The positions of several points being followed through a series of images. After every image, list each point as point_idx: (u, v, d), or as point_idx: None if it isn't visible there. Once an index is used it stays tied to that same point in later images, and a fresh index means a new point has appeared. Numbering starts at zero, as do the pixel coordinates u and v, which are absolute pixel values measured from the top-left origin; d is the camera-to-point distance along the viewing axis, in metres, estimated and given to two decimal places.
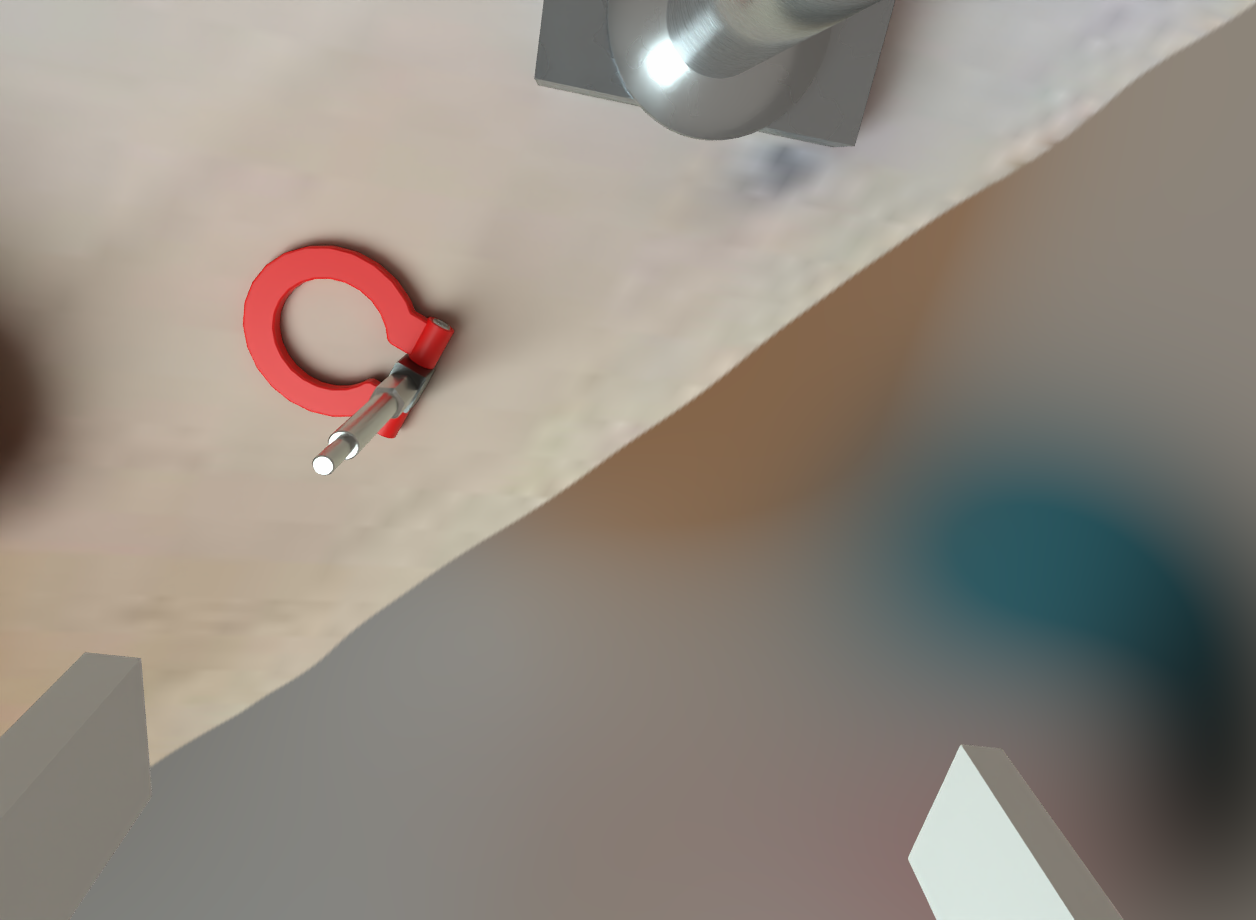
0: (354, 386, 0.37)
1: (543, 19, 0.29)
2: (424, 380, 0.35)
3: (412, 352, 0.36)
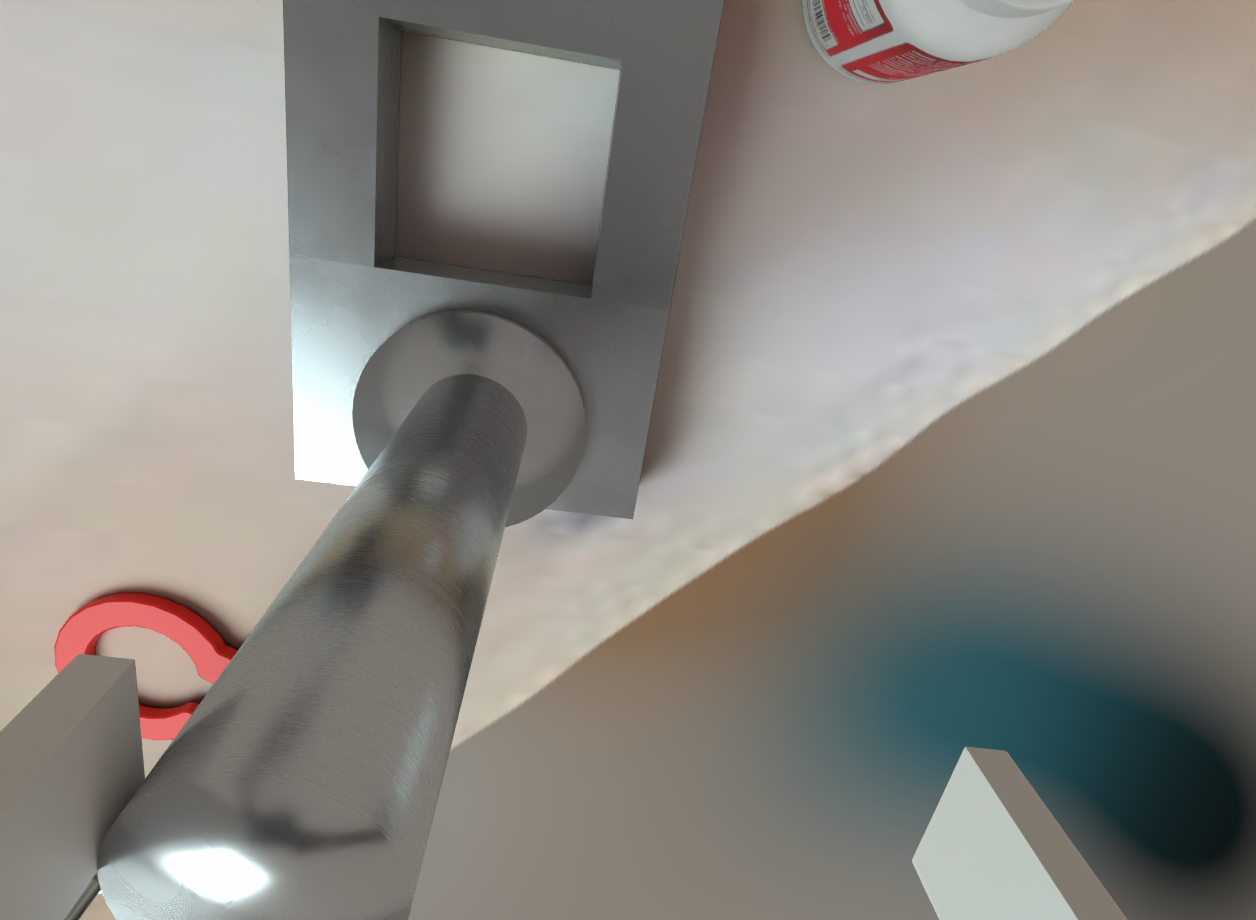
0: (172, 714, 0.37)
1: (295, 430, 0.29)
2: None
3: None
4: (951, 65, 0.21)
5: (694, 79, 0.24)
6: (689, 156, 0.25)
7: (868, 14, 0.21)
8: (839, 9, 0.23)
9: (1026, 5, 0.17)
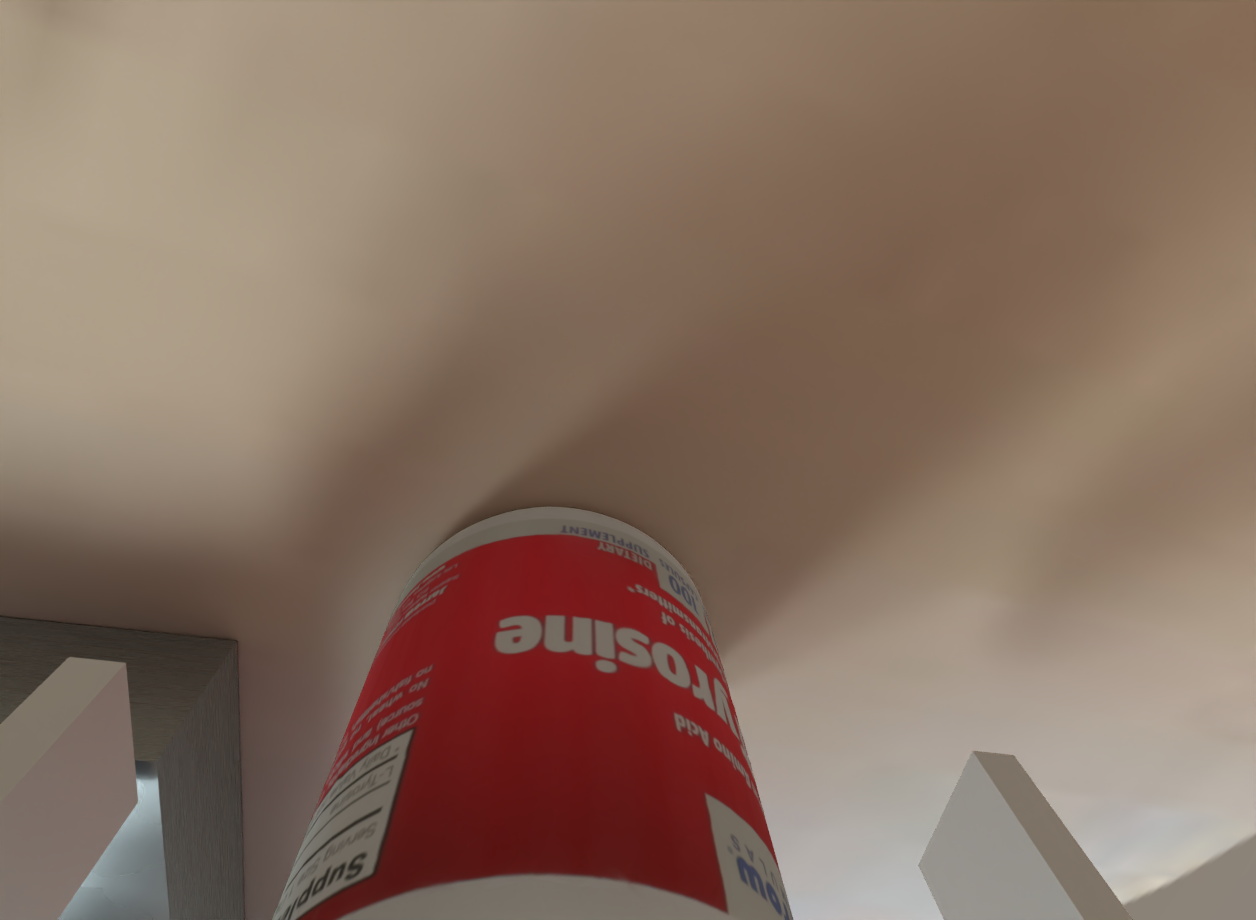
0: None
1: None
2: None
3: None
4: None
5: (135, 896, 0.12)
6: None
7: None
8: None
9: None
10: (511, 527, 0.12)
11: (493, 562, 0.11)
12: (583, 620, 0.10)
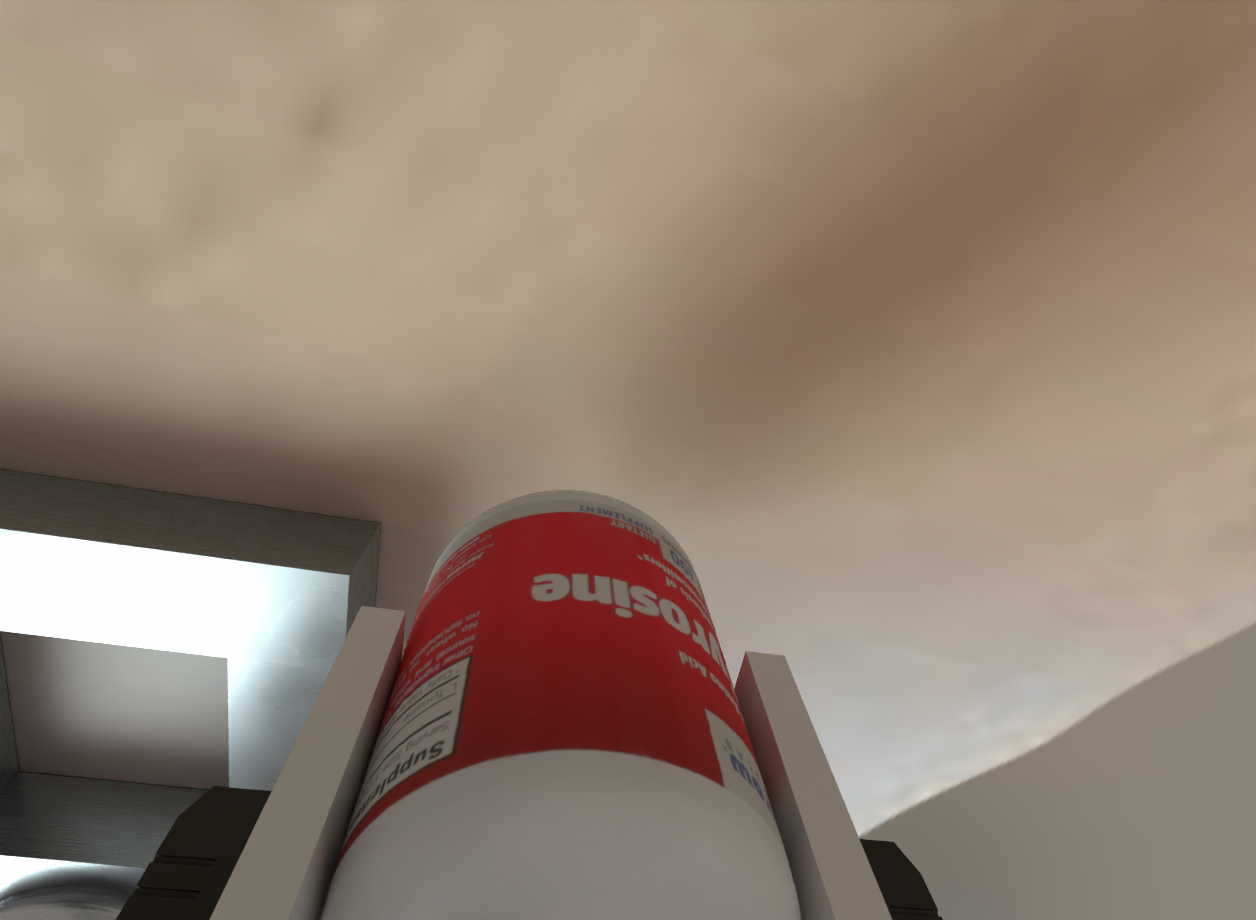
0: None
1: None
2: None
3: None
4: None
5: (323, 674, 0.19)
6: None
7: None
8: None
9: None
10: (536, 506, 0.14)
11: (523, 533, 0.13)
12: (603, 578, 0.12)
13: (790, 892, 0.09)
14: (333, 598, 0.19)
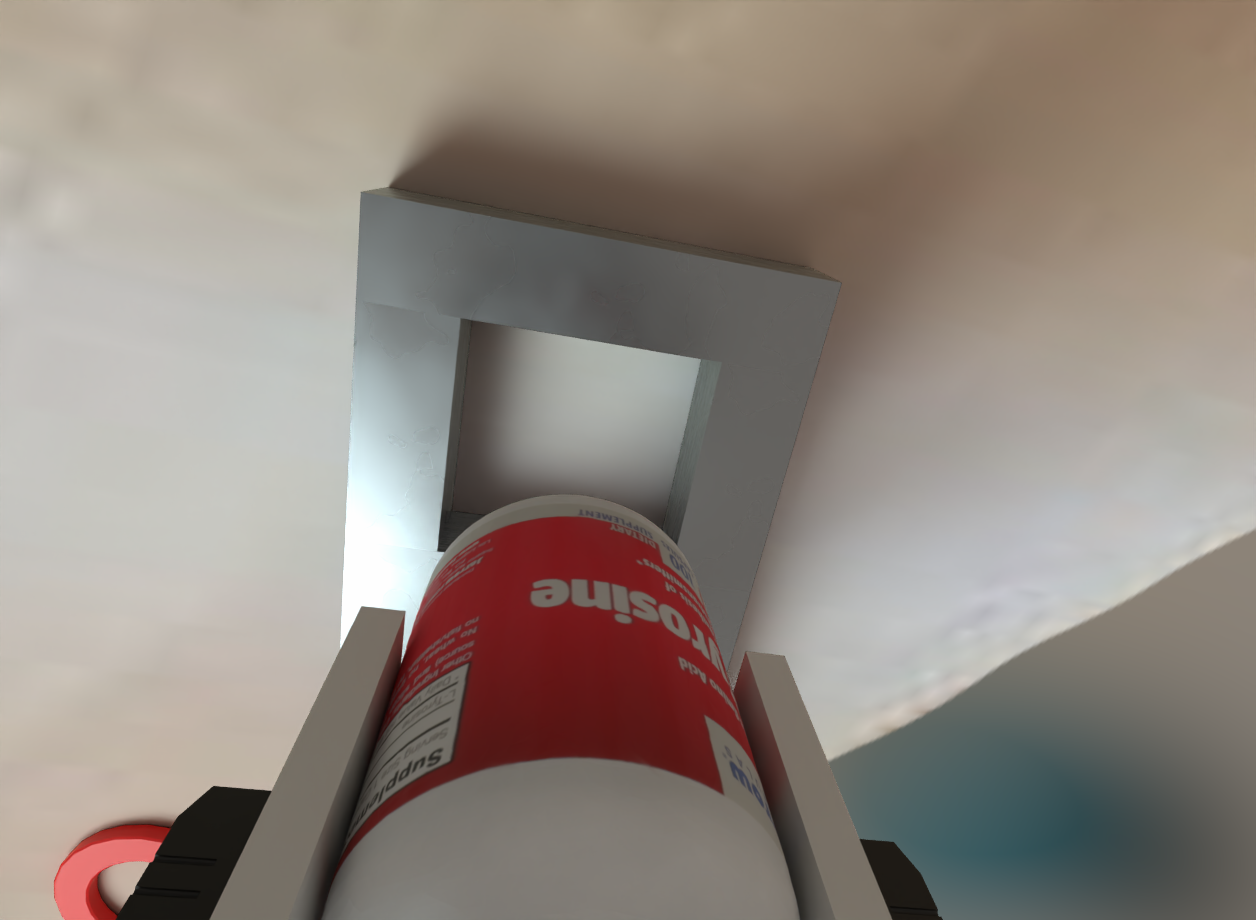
0: None
1: None
2: None
3: None
4: None
5: (796, 381, 0.23)
6: (784, 452, 0.24)
7: None
8: None
9: None
10: (535, 510, 0.14)
11: (522, 538, 0.13)
12: (603, 583, 0.12)
13: (789, 900, 0.09)
14: (822, 305, 0.22)
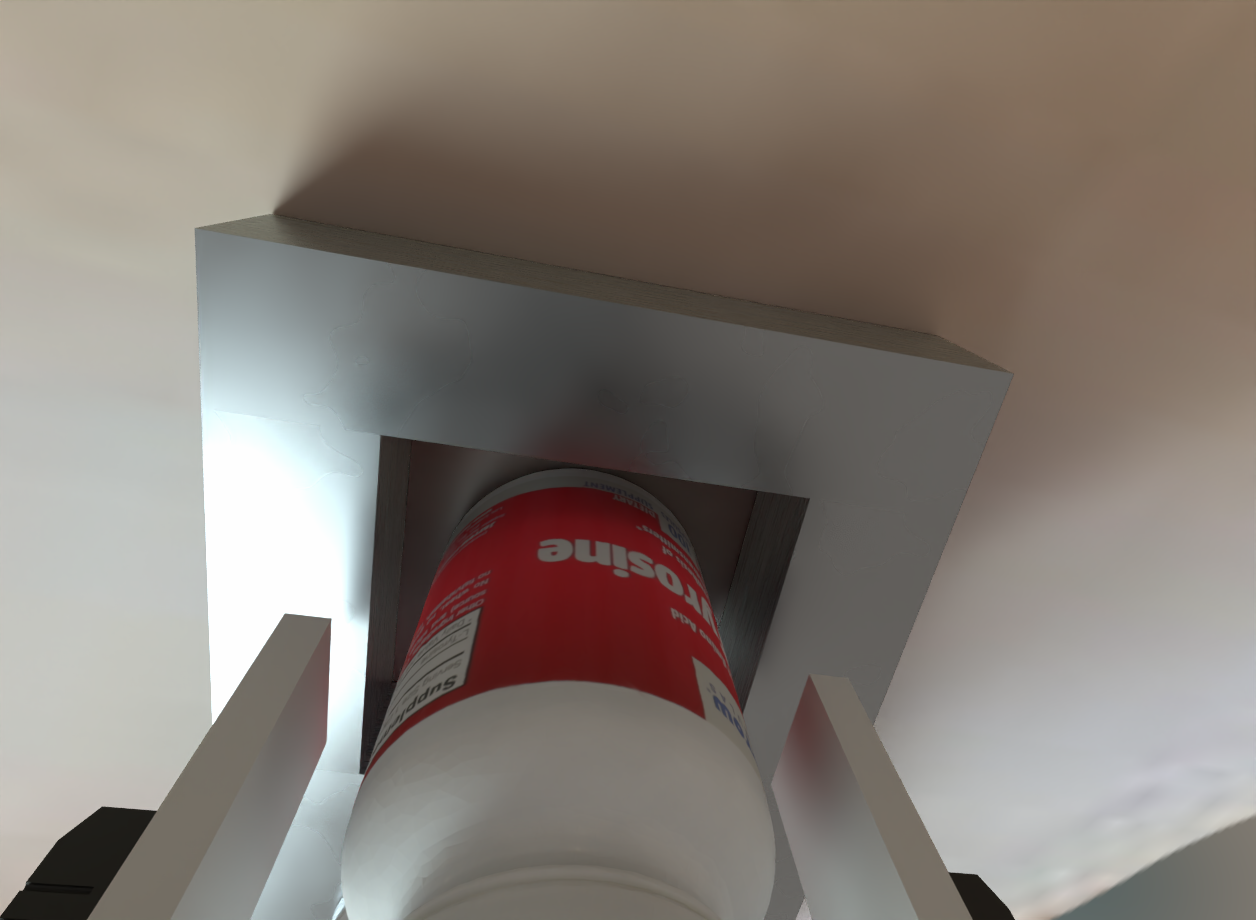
0: None
1: None
2: None
3: None
4: None
5: (927, 524, 0.14)
6: (901, 627, 0.15)
7: None
8: None
9: None
10: (544, 481, 0.15)
11: (531, 505, 0.14)
12: (603, 543, 0.13)
13: (763, 814, 0.10)
14: (979, 410, 0.13)
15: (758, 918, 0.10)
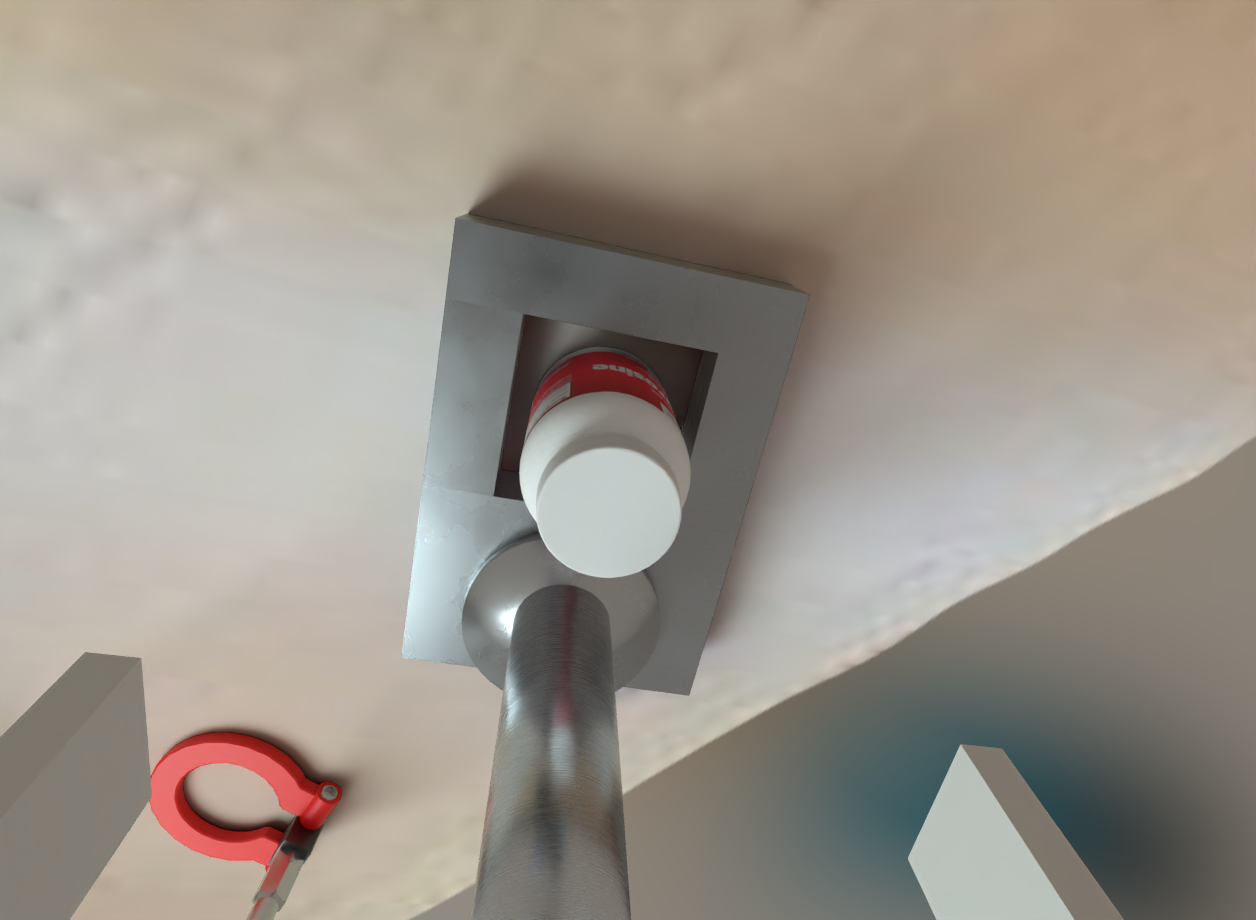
0: (250, 838, 0.40)
1: (407, 619, 0.33)
2: (310, 853, 0.39)
3: (302, 817, 0.40)
4: None
5: (774, 368, 0.30)
6: (765, 424, 0.31)
7: None
8: None
9: (595, 576, 0.24)
10: (590, 350, 0.31)
11: (586, 356, 0.30)
12: (621, 367, 0.29)
13: (684, 448, 0.25)
14: (795, 311, 0.29)
15: (682, 490, 0.25)
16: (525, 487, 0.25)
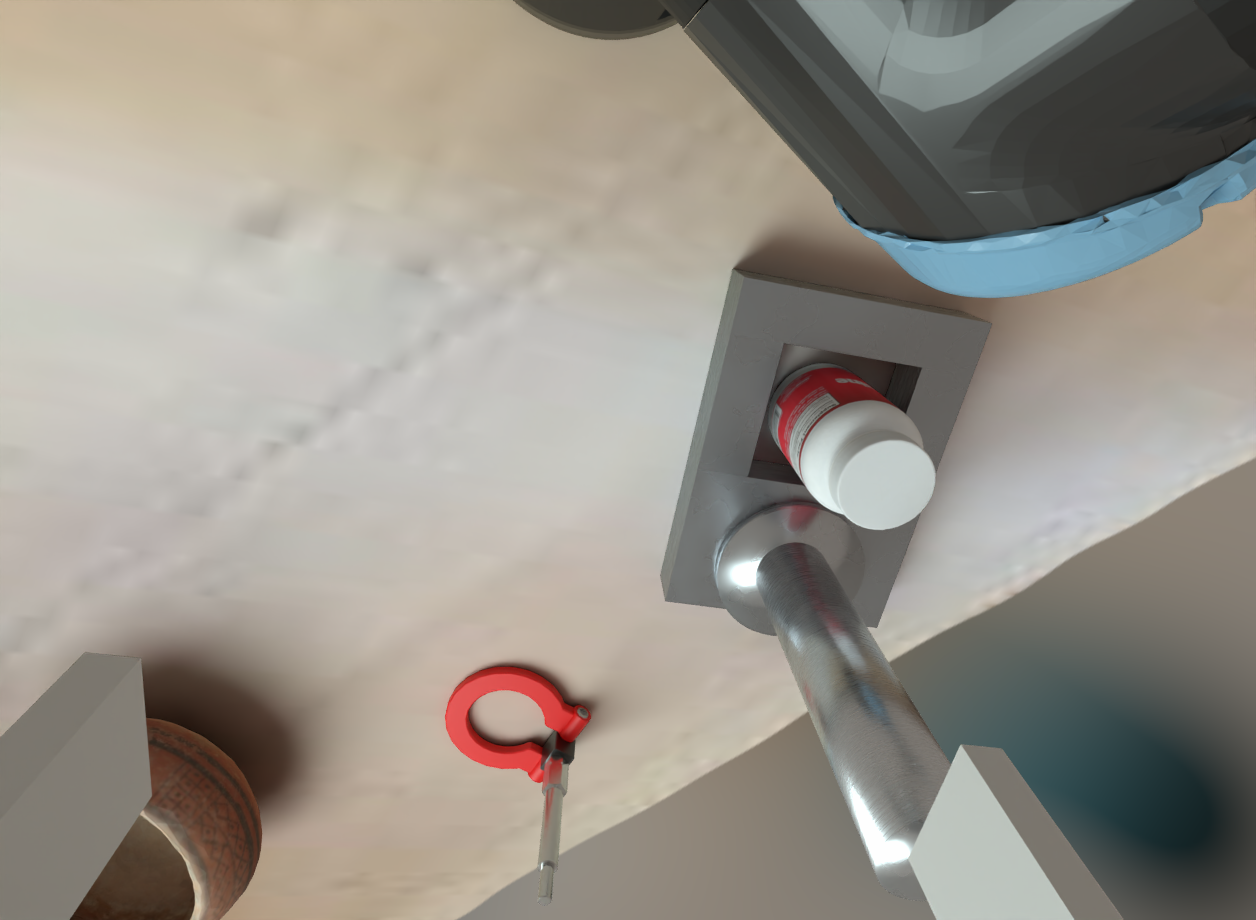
0: (518, 750, 0.52)
1: (673, 571, 0.44)
2: (573, 758, 0.50)
3: (562, 732, 0.51)
4: None
5: (962, 377, 0.40)
6: (952, 418, 0.41)
7: (800, 478, 0.38)
8: (787, 455, 0.40)
9: None
10: (818, 366, 0.42)
11: (821, 372, 0.41)
12: (855, 380, 0.39)
13: (921, 439, 0.36)
14: (980, 335, 0.39)
15: None
16: (810, 469, 0.36)
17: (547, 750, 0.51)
